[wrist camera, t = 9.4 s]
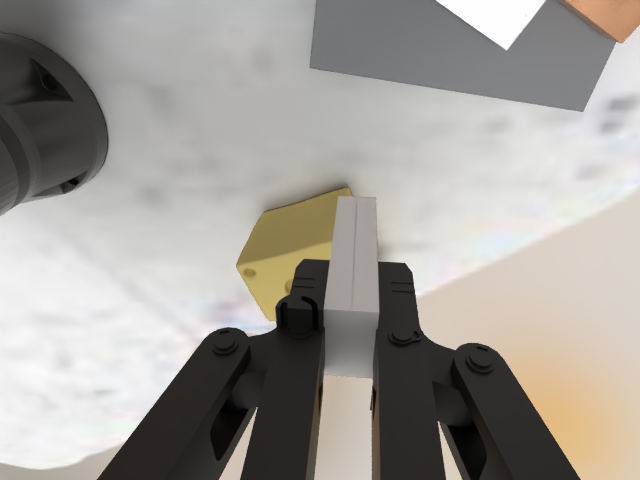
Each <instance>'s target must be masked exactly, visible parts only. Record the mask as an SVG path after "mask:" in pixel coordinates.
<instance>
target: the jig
mask: <svg viewBox="0 0 640 480" xmlns="http://www.w3.org/2000/svg"><path fill="white" fill-rule="evenodd" d="M615 43H616V41H613V40H610V39H607V38H605V37H604V36H602V35H601V34H600V33H598V32H597V31H596V30H594V29H593V28H592V27H591V26H589V25H588V24H587V23H585V22H584V21H583V20H581V19H580V18H579V17H577V16H576V15H575V14H573V13H572V12H571V11H569V10H568V9H567V8H565V7H564V6H563V5H562V4H560V3H559V2H558V1H556V0H546V1H545V2H544V4H543V5H542V6H541V7H540V9H539V10H538V11H537V13H536V14H535V15H534V16H533V18H532V19H531V20H530V21H529V23H528V24H527V25H526V27H525V28H524V29H523V30H522V32H521V33H520V34H519V35H518V37H517V38H516V39H515V41H514V42H513V43H512V44H511V46H510V47H509V48H508V50H506V49H504V48H503V47H501V46H500V45H499V44H497V43H496V42H494V41H493V40H492V39H490V38H489V37H487V36H486V35H484V34H483V33H482V32H480V31H479V30H477V29H476V28H475V27H473V26H472V25H470V24H469V23H468V22H466V21H465V20H463V19H462V18H461V17H459V16H458V15H456V14H455V13H454V12H452V11H451V10H449V9H448V8H447V7H445V6H444V5H442V4H441V3H440V2H438V1H437V0H317V2H316V12H315V21H314V31H313V41H312V50H311V60H310V68H313V69H319V70H325V71H332V72H338V73H344V74H350V75H357V76H363V77H369V78H375V79H381V80H388V81H394V82H400V83H406V84H413V85H419V86H425V87H431V88H437V89H444V90H450V91H456V92H462V93H468V94H475V95H481V96H487V97H493V98H500V99H506V100H512V101H518V102H524V103H531V104H537V105H543V106H549V107H556V108H562V109H568V110H574V111H580V112H583V111H584V109H585V107H586V105H587V103H588V100H589V98H590V96H591V94H592V92H593V90H594V88H595V86H596V84H597V81H598V79H599V77H600V75H601V73H602V71H603V69H604V67H605V65H606V62H607V60H608V58H609V56H610V54H611V52H612V50H613V48H614V45H615Z"/></svg>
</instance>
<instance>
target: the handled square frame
mask: <svg viewBox="0 0 640 480" xmlns="http://www.w3.org/2000/svg"><path fill="white" fill-rule="evenodd" d="M437 1H438V2H440V3H441V4H442V5H444V6H445V7H447V8H448V9H449V10H451V11H452V12H454V13H455V14H456V15H458V16H459V17H461V18H462V19H463V20H465V21H466V22H468V23H469V24H470V25H472V26H473V27H475V28H476V29H477V30H479V31H480V32H482V33H483V34H484V35H486V36H487V37H489V38H490V39H492V40H493V41H494V42H496V43H497V44H499V45H500V46H501V47H503V48H504V49H506V50H508V48H509V47H510V46H511V44H512V43H513V42H514V41H515V39H516V38H517V37H518V35H519V34H520V33H521V32H522V30H523V29H524V28H525V27H526V25H527V24H528V23H529V21H530V20H531V19H532V18H533V16H534V15H535V14H536V13H537V11H538V10H539V9H540V7H541V6H542V5H543V4H544V2H545V1H546V0H437ZM556 1H558V2H559V3H560V4H562V5H563V6H564V7H565V8H567V9H568V10H569V11H571V12H572V13H573V14H575V15H576V16H577V17H579V18H580V19H581V20H583V21H584V22H585V23H587V24H588V25H589V26H591V27H592V28H593V29H594V30H596V31H597V32H598V33H600V34H601V35H602V36H604V37H605V38H607V39H610V40H613V41H616V42H619V43H623V42H624V41H625V40H626V39H627V38H628V37H629V35H630V34H631V33H632V32H633V31H634V30H635V29H636V28H637V27H638V26H639V25H640V0H556Z"/></svg>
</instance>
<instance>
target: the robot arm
mask: <svg viewBox="0 0 640 480" xmlns="http://www.w3.org/2000/svg"><path fill="white" fill-rule="evenodd" d="M107 142H108V141H107V130H106V125H105V121H104V118H103V115H102V112H101V110H100V107H99V105H98V103H97V101H96V99H95V97H94V96H93V94H92V92H91V91H90V89H89V88H88V86H87V85H86V83H85V82H84V81H83V80H82V78H81V77H80V76H79V75H78V74H77V73H76V71H75V70H74V69H73V68H72V67H71V66H70V65H69V64H67V63H66V62H65V61H64V60H63V59H62V58H61V57H59V56H58V55H57V54H55V53H54V52H52V51H51V50H49V49H48V48H46V47H44V46H43V45H41V44H39V43H37V42H35V41H32V40H30V39H27V38H25V37H21V36H18V35H13V34H6V33H0V216H1V215H3V214H4V213H6V212H7V211H8V210H10V209H12V208H13V207H15V206H16V205H18V204H19V203H24V202H29V201H34V200H38V199H43V198H48V197H53V196H58V195H62V194H66V193H69V192H71V191H73V190H75V189H77V188H79V187H80V186H82V185H83V184H84V183H86V182H87V181H89V180H90V179H91V178H93V177H94V176H95V175H96V174H97V173H98V171H99V170H100V169H101V167H102V165H103V163H104V160H105V157H106V153H107ZM275 311H276V323H277V328H275V329H274V330H272V331H270V332H268V333H265V334H261V335H256V336H251V337H248V336H247V335H246V334H245V332H244V331H242V330H240V329H237V328H230V327H227V328H222V329H218V330H216V331H214V332H212V333H210V334H209V335H208V336H207V337H206V338H205V339H204V340H203V341H202V343H201V344H200V345H199V347H198V348H197V349H196V351H195V352H194V353H193V354H192V356H191V357H190V358H189V360H188V361H187V362H186V364H185V365H184V366H183V368H182V369H181V370H180V371H179V373H178V374H177V375H176V377H175V378H174V379H173V381H172V382H171V383H170V385H169V386H168V387H167V389H166V390H165V391H164V392H163V394H162V395H161V396H160V398H159V399H158V400H157V402H156V403H155V404H154V406H153V407H152V408H151V409H150V411H149V412H148V413H147V415H146V416H145V417H144V419H143V420H142V421H141V423H140V424H139V425H138V427H137V428H136V429H135V430H134V432H133V433H132V434H131V436H130V437H129V438H128V440H127V441H126V442H125V444H124V445H123V446H122V447H121V449H120V450H119V452H118V453H117V454H116V455H115V457H114V458H113V459H112V461H111V462H110V463H109V464H108V466H107V467H106V468H105V470H104V471H103V472H102V474H101V475H100V476H99V478H98V479H97V480H219V478H220V476H221V474H222V473H223V470H224V469H225V467H226V465H227V463H228V461H229V459H230V457H231V456H232V454H233V452H234V450H235V448H236V446H237V444H238V442H239V440H240V438H241V437H242V434H243V433H244V431H245V429H246V427H247V425H248V424H249V422H250V420H251V418H252V416H253V414H254V412H255V410H256V407H258V409H257V413H256V417H255V421H254V425H253V429H252V433H251V437H250V441H249V446H248V449H247V454H246V458H245V462H244V466H243V471H242V474H241V478H240V480H314V474H315V465H316V455H317V445H318V435H319V425H320V416H321V406H322V396H323V375H332V376H346V377H359V378H372V379H373V386H372V396H371V406H370V410H372V480H446V476H445V469H444V462H443V455H442V448H441V441H440V434H439V427H438V421H439V422H440V426H441V429H442V431H443V433H444V436H445V438H446V441H447V443H448V445H449V448H450V450H451V452H452V455H453V458H454V460H455V463H456V465H457V467H458V470H459V472H460V475H461V477H462V479H463V480H580V478H579V477H578V475H577V473H576V472H575V470H574V469H573V467H572V466H571V464H570V462H569V461H568V459H567V458H566V456H565V454H564V453H563V451H562V450H561V448H560V447H559V445H558V443H557V442H556V441H555V439H554V437H553V436H552V434H551V433H550V431H549V429H548V428H547V426H546V425H545V423H544V422H543V420H542V418H541V417H540V415H539V414H538V412H537V411H536V409H535V407H534V406H533V404H532V403H531V401H530V400H529V398H528V396H527V395H526V393H525V392H524V390H523V389H522V387H521V385H520V384H519V383H518V381H517V379H516V378H515V376H514V375H513V373H512V371H511V370H510V368H509V367H508V365H507V364H506V362H505V360H504V359H503V358H502V357H501V356H500V354H498V352H497V351H495V350H493V349H492V348H490V347H489V346H486V345H482V344H479V343H467V344H464V345H461V346H460V347H458V349H456V350H453V349H450V348H446V347H443V346H441V345H438V344H436V343H434V342H433V341H431V340H430V339H428V338H427V337H426V336H425V335H424V333H423V331H422V330H421V328H420V325H419V318H418V311H417V304H416V296H415V289H414V282H413V275H412V272H411V270H410V269H409V268H408V266H407V265H406V264H405V263H394V262H378V252H377V217H376V198H375V197H351V196H338V202H337V210H336V217H335V225H334V233H333V241H332V248H331V256H330V260H320V259H303V260H302V261H301V262H300V263H299V264H298V266H297V267H296V269H295V273H294V278H293V282H292V287H291V290H290V294H289V295H287V296H285V297H283V298H282V299H281V300H279V301H278V303H277V305H276V307H275Z"/></svg>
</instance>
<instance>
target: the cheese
mask: <svg viewBox="0 0 640 480" xmlns="http://www.w3.org/2000/svg"><path fill="white" fill-rule="evenodd" d="M338 196H351V197H353V196H352V194H351V191H350V188H349V187H347V188H343V189H339V190H336V191H332V192H329V193H326V194H323V195H320V196H317V197H314V198H311V199H308V200H305V201H302V202H299V203H296V204H292V205H289V206H285V207H282V208H278V209H274V210H270V211H266V212H264V213H263V214H262V216H261V217H260V218H259V220H258V221H257V223H256V225H255V226H254V228H253V230H252V232H251V234H250V237H249V239H248V241H247V243H246V244H245V246H244V248H243V250H242V252H241V254H240V257H239V259H238V262H237V264H236V267H237V269H238V271H239V273H240V275H241V276H242V278H243V280H244V282H245V283H246V285H247V287H248V289H249V291H250V292H251V294H252V296H253V297H254V299H255V300H256V302H257V304H258V305H259V307H260V309H261V310H262V312H263V313H264V315H265V317H266V318H267V319H268V320H269V321H276V311H275V307H276V305H277V303H278V301H279V300H281V299H282V298H283V297H285V296H287V295H289V294H290V290H291V287H292V282H293V278H294V273H295V269H296V267H297V266H298V264H299V263H300V262H301V261H302V260H303V259H320V260H330V256H331V248H332V241H333V233H334V225H335V217H336V210H337V202H338Z"/></svg>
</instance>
